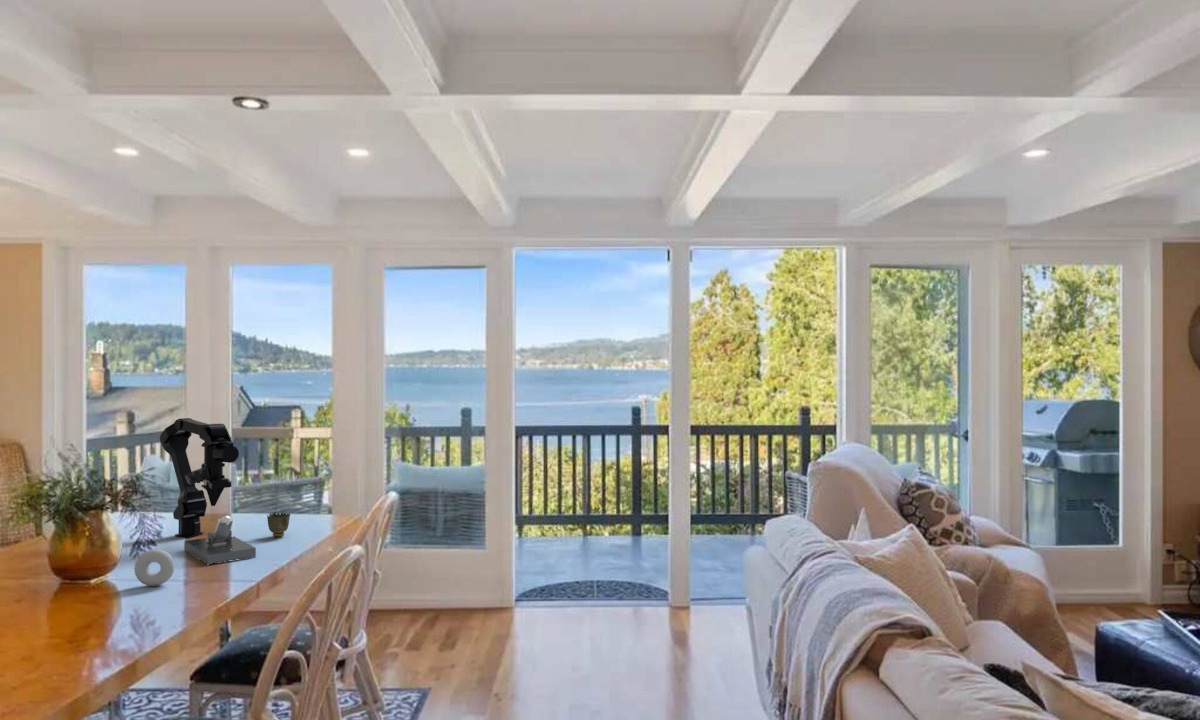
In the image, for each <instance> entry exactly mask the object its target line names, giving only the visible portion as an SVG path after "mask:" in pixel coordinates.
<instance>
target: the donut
mask: <svg viewBox="0 0 1200 720" xmlns="http://www.w3.org/2000/svg"><path fill="white" fill-rule="evenodd" d="M152 563H157V564H158V565H159V566H160V570H159V571H158V572H157V573H154V572H151V570H150V569H149V567H150V565H151V564H152ZM174 573H175V561H174V559H173V557H172V556H171V555H170V554H169V553H168V552H167V551H164V549H163V550H162V549H156V548H155V549H151V550H147V551H144V552H143V553H142V554H141V555H140V556H139V557H138V558H137V559H136V561H135V563H134V575H135V577H136V579H137V580H138V582H140V583H141V584H143V585H146V586H148V587H156V586H161V585H164V584H165V583H167V582H168V580H170V579H171V577H173V574H174Z"/></svg>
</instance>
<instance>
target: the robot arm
mask: <svg viewBox="0 0 1200 720" xmlns="http://www.w3.org/2000/svg"><path fill="white" fill-rule="evenodd" d="M229 433H230V432H229V431H228V428H227V427H226V425H225V424H224V423H206V422H203V421H200V420H196V419H192V418H190V417H188V418H178V419H176V420H175V421H174V422H173V423H172V424H170V425H168V426H167V427H165V429H163V431H162V432H161V434H160V436H159V441H160V443H161V446H162V448H163V450H164V451H165V452H166V453H167V454H168V455H170V457H171V460H172V465H173V468H174V472H175V476H176V480H177V484H178V488H179V490H180V491H179V492H180V493H179V497H178V498H177V507H175V509H174V511H173V513H172V515H173V519H174V520H176V521H178V533H176V534H174V537H180V538H181V537H182V538H192V537H196V536H199V534H200V535H203V534H204V531H201V517H205V516H206V511H207V507H208V502H207V499H206V498H207V497H206V496H205V491H204V490H206V493H207V496H208V499H209V503H210V506H211V507H215V506H217V503H218V501H219V499H220V497H221V495H222V493H223V492H224V489H227V488H231V487H232V484H233V483H232V480H231V479H229V478H226V476H225V475H224V473H223V472H224V470H223V469H224V467H225V465H226V464H225V463H228V464H231V463H234V462H236V461H237V460H238V458H239V455H240V451H239V449H238V448H237V447H236V446H235V445H234V442H233V440H232V436H231V435H230V434H229ZM193 434H195V435H198V436H199V437H198V438H199V439H200V440H202V441H204V442H202V444H201V447H202V448H203V450H204V452H203V459H204V460H203V463H202V464H201V466H200V468H198V469H195V470H193V471H192V468H191V465H190V461H189V457H188V454H187V448H188V446H189V442H190V441H189V439H190V438H191V437H192V435H193ZM196 483H197V484H200V483H203V484H201V485H200V486H201V488H203V489H204V490H203V489H198V488H197V487H196ZM202 533H203V534H202Z"/></svg>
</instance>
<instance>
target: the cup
mask: <svg viewBox="0 0 1200 720" xmlns="http://www.w3.org/2000/svg"><path fill="white" fill-rule="evenodd" d="M266 515H267V517H266V518H267V524H268V529H269V531H270V532H271V533H272V537H273V538H278V537H279V538H283V537H284V536H285V533H284V532H286V531H287V530H288V527H289V526H290V525H289V524H290V517H291V513H289V512H283V511H282V512H281V513H280V512H277V513H276V512H273V513H269V514H266Z"/></svg>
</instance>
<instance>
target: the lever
mask: <svg viewBox="0 0 1200 720" xmlns="http://www.w3.org/2000/svg"><path fill="white" fill-rule="evenodd" d="M233 522H234V520H233V518H232V517H230V515H225V514H224V515H223V516H221V517H220V518H217V521H216V524H215V528H214V532H213V544H215V543H222V542H227V539H228V535H229V532H230V530H231V529H232V525H233Z"/></svg>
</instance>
